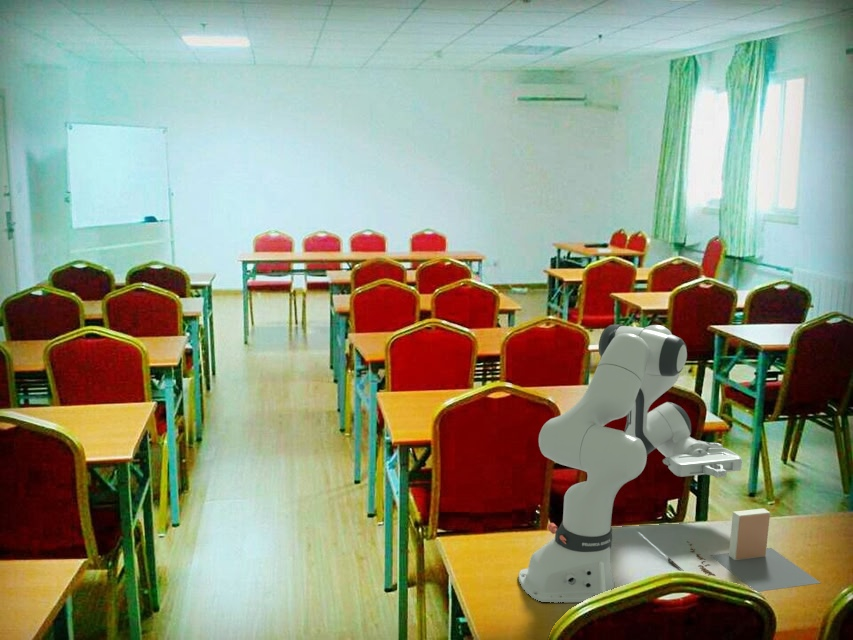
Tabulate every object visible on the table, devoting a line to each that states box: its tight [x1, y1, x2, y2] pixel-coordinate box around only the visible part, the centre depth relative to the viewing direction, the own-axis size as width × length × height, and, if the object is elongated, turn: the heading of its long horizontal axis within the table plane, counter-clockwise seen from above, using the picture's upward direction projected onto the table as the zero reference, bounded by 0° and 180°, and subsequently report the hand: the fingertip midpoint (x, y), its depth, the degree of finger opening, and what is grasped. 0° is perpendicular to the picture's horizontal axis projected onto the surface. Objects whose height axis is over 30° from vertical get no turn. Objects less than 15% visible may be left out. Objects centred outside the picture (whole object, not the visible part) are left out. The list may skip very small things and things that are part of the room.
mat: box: [710, 547, 822, 593], centre depth 193 cm, size 18×18×1 cm
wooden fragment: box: [667, 541, 716, 577], centre depth 199 cm, size 26×11×1 cm, turn 179°
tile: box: [728, 507, 771, 560], centre depth 198 cm, size 9×3×12 cm, turn 104°
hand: (721, 474), depth 209 cm, fingers closed
